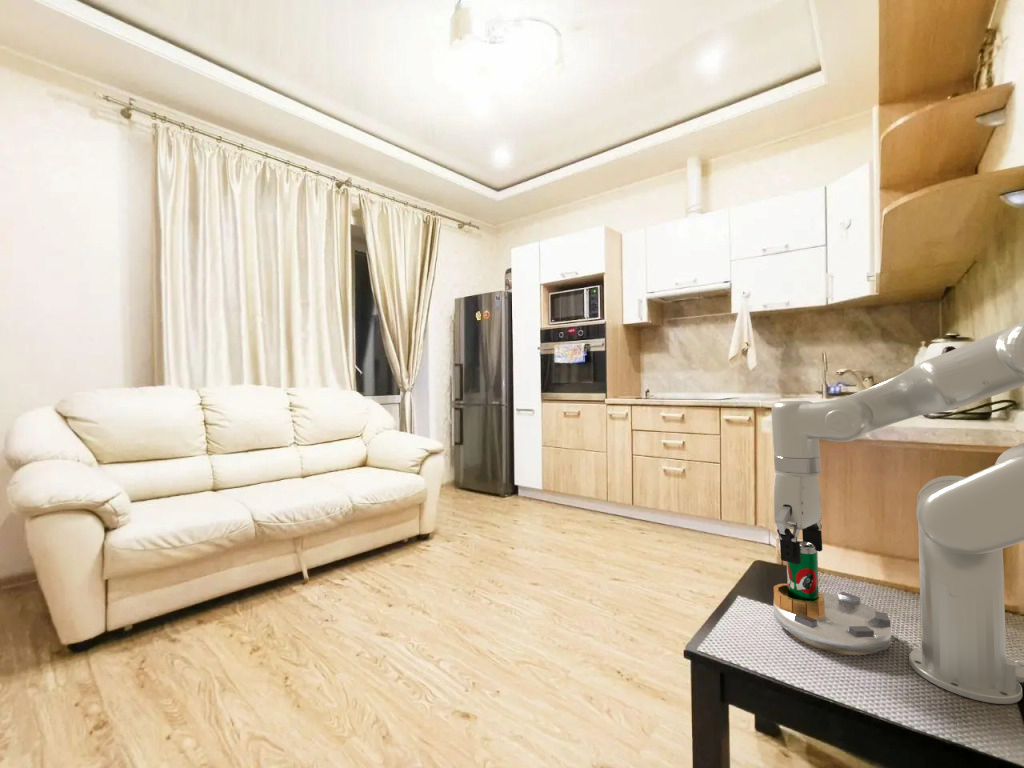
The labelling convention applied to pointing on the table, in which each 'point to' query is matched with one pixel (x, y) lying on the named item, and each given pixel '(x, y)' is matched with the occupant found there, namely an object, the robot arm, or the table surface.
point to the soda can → (804, 574)
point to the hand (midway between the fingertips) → (802, 555)
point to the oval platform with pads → (833, 621)
